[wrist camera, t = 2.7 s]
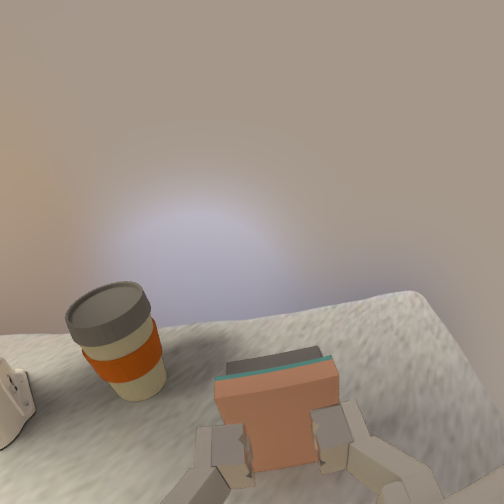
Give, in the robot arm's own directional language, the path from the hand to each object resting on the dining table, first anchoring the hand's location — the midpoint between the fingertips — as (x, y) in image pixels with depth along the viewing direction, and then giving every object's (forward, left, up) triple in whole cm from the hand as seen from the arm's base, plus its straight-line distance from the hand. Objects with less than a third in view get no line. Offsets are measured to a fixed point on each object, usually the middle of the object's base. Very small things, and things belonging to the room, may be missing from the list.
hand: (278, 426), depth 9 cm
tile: (-11, +6, -24) cm, 27 cm away
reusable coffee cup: (-36, -4, -24) cm, 43 cm away
